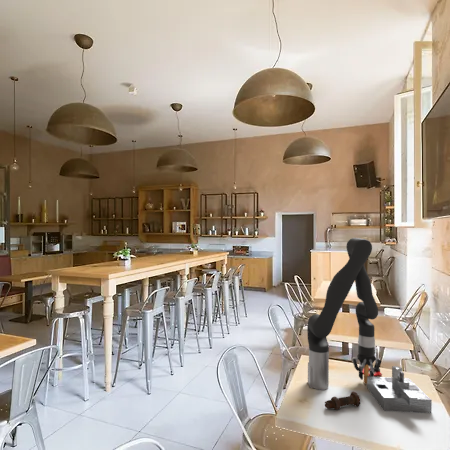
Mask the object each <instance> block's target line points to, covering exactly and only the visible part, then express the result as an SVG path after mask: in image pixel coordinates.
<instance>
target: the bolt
mask: <svg viewBox="0 0 450 450" xmlns="http://www.w3.org/2000/svg"><path fill="white" fill-rule="evenodd" d="M361 403H362V401H361V397H360V395H359V394H358V393H357V392H355V391H351V392H350V394H349V395H348V396H341V397H337V396H332V397H331V399H328V400H325V401H324V407H325V408H326V409H327V410H332V409H334V410H335V411H338V410H340V409H341V408H342V407H346V406H351V405H353V406H355V407H357V408H358V407H360V405H361Z"/></svg>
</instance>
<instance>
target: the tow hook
mask: <svg viewBox="0 0 450 450" xmlns="http://www.w3.org/2000/svg"><path fill="white" fill-rule="evenodd" d="M375 357H376V358H379V359H380V357H379V349H378V348H376V347H375ZM369 371H370V368H369ZM363 375H364V368H363ZM378 376H379V377H383V374H382V372H381V369H380V368H379V370H378V371H377V372H376V371H375V372H374V377H378Z"/></svg>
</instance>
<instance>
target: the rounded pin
mask: <svg viewBox="0 0 450 450" xmlns="http://www.w3.org/2000/svg"><path fill="white" fill-rule="evenodd" d="M369 372H370V370H369V366H368V365H366V366H364V374H363V383H364V384H366V385H367V376H369Z"/></svg>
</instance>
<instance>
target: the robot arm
mask: <svg viewBox="0 0 450 450" xmlns="http://www.w3.org/2000/svg"><path fill="white" fill-rule="evenodd" d="M372 251H373V245H372V242H371V241H370V240H368V239H365V238H360V237H351V238H350V239H348V240H347V242H346V252H347V255H348V261H347V262H346V263H345V265H344V266H343V267H342V268H340V270H338V272H336V274H334V275H333V277H332V278H331V281H330V283H329V286H328V287H327V290H326V296H325V299H324V301H325V302H324V305H323V308H322V309H321V311H320V313H319V314H318V313H316V314H313V315H310V316H309V318H308V320H307V327H306V328H307V343H308V362H307V383H308V386H309V388H310V389H311V388H312V389H316V390H318V391H320V390H328V388H329V383H330V381H329V379H330V378H329V377H330V376H329V369H330V368H329V367H330V365H329V362H330V345H329V342H328V338H327V337H328V336H329V335H330V334H331V332H332V329H333V327H334V324H335V322H336V319H337V316H338V314H339V312H340V310H341V308H342V306H343V304H344V302H345V300H346V298H347V297H348V295H349V293H350V291H351V289H352V286H353V285H354V283H355V291H356V296H357V298H358V299H359V300H360V301H361V302H358V303H357V305H356V306H355V315H356V319H357V323H358V338H357V339H358V340H357V348H358V349H357V356H355V357H354V356H352V357H351V361H352V364H353V367H354V369H355V371H357V372H358V378H360V380H363V381H364V374H363V368H364V366H366V365H368V366H369V368H370V370H369V376H371V377H375V376H374V373H375V371H376V372H377V371H378V370H379V369H380V367H381V363H382V360H381V358H380V357H379V358H376V338H375V325H374V323H372V322H371V321H370V320H375V319H377V317H378V316H379V308H378V305H377V301H376V299H375V297H374V295H373V289H372V283H371V279H370V276H369V273H368V271H367V269H366V266H365V263H366V262H367V260H368V259H369V257H370V255H371V254H372ZM358 361H359V364H358ZM374 362H375V363H374ZM373 364H374V365H373ZM358 365H359V366H358Z"/></svg>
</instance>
